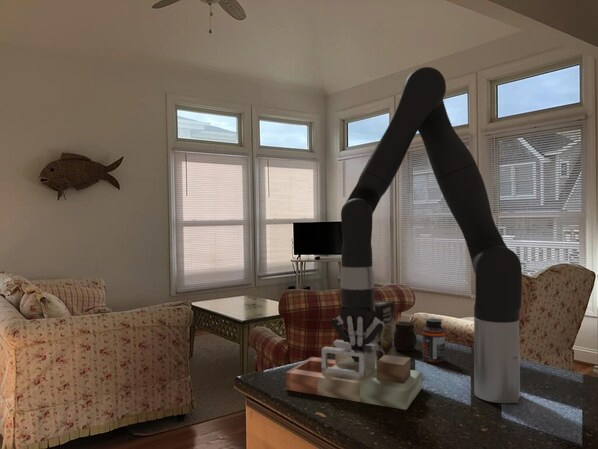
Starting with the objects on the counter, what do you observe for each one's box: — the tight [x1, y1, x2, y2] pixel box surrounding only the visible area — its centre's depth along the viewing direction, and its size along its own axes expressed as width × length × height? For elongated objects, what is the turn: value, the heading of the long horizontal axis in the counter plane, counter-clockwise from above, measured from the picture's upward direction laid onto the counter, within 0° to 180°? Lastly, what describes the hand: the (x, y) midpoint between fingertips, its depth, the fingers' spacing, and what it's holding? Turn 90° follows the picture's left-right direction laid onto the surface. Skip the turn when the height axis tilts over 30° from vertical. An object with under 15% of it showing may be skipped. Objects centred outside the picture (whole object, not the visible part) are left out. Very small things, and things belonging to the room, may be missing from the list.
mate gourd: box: [394, 317, 418, 352], centre depth 149 cm, size 7×8×10 cm
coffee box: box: [366, 299, 395, 365], centre depth 137 cm, size 9×6×16 cm
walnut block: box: [377, 355, 412, 384], centre depth 110 cm, size 6×6×4 cm
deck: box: [285, 356, 422, 411], centre depth 115 cm, size 28×14×4 cm, turn 64°
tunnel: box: [321, 339, 376, 380], centre depth 115 cm, size 10×9×6 cm
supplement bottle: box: [422, 318, 446, 364], centre depth 137 cm, size 6×6×11 cm
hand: (358, 361), depth 114 cm, fingers closed
